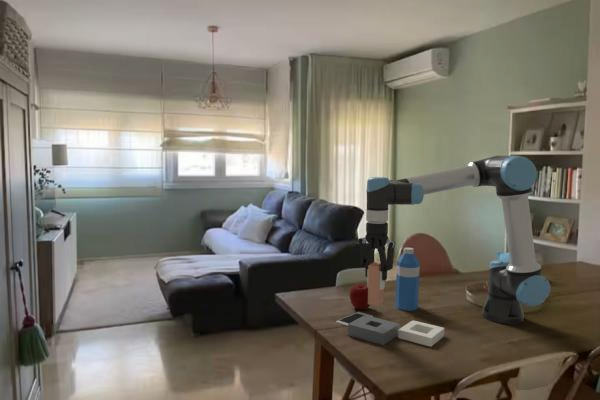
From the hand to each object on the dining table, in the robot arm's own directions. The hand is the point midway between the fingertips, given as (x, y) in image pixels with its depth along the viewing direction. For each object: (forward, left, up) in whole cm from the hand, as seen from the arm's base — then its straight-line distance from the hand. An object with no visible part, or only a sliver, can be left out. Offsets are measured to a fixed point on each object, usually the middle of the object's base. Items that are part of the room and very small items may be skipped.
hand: (375, 287), depth 165 cm
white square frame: (-14, -9, -17) cm, 24 cm away
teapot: (-18, -120, -17) cm, 122 cm away
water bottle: (+4, -36, -17) cm, 40 cm away
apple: (+18, -22, -17) cm, 33 cm away
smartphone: (+13, -9, -18) cm, 24 cm away
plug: (0, 0, -6) cm, 6 cm away
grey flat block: (0, 0, -17) cm, 17 cm away
